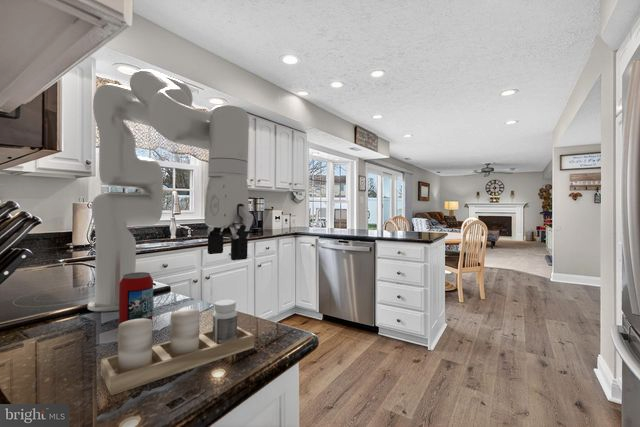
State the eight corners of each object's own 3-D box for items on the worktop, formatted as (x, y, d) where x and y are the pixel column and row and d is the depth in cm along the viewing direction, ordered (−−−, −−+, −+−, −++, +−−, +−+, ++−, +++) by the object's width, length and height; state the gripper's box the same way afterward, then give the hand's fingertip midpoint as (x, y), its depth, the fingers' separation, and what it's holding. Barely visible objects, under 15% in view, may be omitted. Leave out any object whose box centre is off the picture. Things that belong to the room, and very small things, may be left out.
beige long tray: (100, 374, 51) (101, 322, 51) (233, 335, 68) (234, 296, 68) (111, 395, 45) (112, 337, 45) (253, 347, 62) (254, 305, 62)
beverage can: (137, 332, 68) (138, 278, 68) (111, 329, 70) (112, 276, 70) (158, 322, 75) (159, 272, 75) (134, 319, 76) (135, 270, 76)
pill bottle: (241, 341, 64) (242, 300, 64) (225, 351, 59) (226, 307, 59) (223, 337, 66) (224, 297, 66) (206, 346, 61) (207, 303, 61)
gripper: (192, 171, 66) (190, 252, 66) (232, 164, 53) (230, 264, 53) (225, 175, 71) (223, 250, 71) (269, 169, 59) (267, 260, 59)
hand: (226, 256), depth 62 cm, fingers open, 9 cm apart
